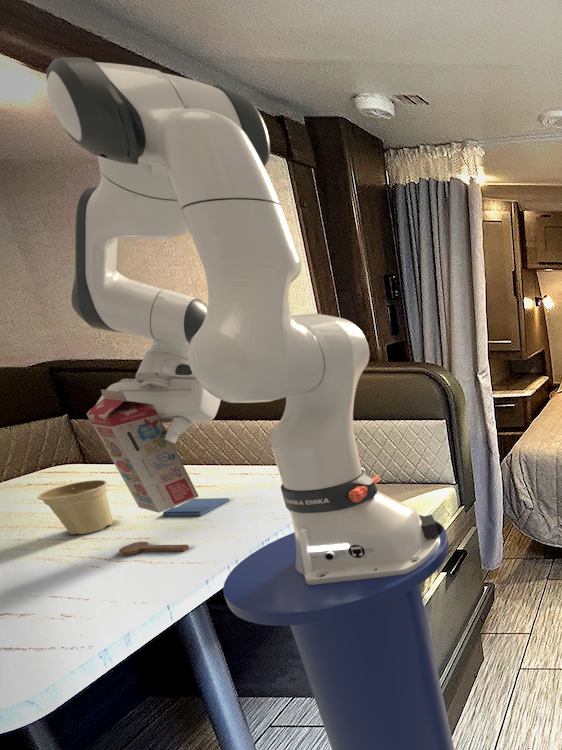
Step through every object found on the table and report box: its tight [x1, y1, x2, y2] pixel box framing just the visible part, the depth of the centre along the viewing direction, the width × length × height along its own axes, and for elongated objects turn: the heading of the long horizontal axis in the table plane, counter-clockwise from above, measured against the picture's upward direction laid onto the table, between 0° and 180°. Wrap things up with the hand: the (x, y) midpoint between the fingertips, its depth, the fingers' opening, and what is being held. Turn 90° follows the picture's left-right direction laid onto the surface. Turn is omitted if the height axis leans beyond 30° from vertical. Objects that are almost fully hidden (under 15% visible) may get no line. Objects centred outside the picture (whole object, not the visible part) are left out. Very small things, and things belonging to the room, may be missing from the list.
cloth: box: [162, 497, 230, 517], centre depth 109 cm, size 8×8×1 cm
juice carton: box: [86, 388, 200, 514], centre depth 91 cm, size 7×7×22 cm
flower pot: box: [37, 479, 114, 535], centre depth 99 cm, size 9×9×9 cm
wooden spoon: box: [118, 541, 190, 557], centre depth 91 cm, size 12×4×1 cm, turn 90°
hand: (142, 441), depth 91 cm, fingers closed on juice carton, 8 cm apart
